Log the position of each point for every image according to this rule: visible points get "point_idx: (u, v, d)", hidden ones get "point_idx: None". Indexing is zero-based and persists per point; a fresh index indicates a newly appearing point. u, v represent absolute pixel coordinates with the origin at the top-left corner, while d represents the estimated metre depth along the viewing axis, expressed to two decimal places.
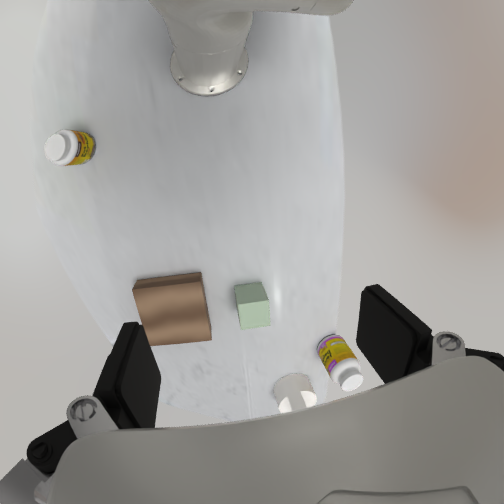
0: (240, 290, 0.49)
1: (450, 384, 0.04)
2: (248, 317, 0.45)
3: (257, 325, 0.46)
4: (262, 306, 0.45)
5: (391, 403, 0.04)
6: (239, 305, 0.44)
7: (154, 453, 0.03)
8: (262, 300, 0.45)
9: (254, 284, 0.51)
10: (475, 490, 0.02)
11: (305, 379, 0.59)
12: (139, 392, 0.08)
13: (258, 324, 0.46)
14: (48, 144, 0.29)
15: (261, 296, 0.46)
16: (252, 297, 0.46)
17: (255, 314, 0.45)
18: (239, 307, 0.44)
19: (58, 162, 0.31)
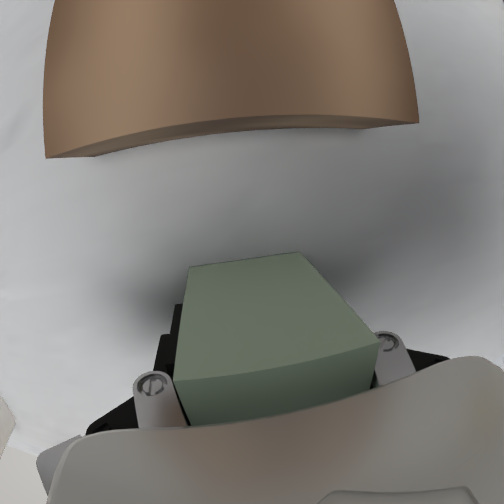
0: None
1: (450, 384, 0.04)
2: (281, 404, 0.06)
3: None
4: None
5: (392, 403, 0.04)
6: (372, 350, 0.06)
7: (154, 453, 0.03)
8: None
9: None
10: (475, 490, 0.02)
11: (9, 434, 0.13)
12: None
13: None
14: None
15: None
16: None
17: None
18: (360, 353, 0.06)
19: None
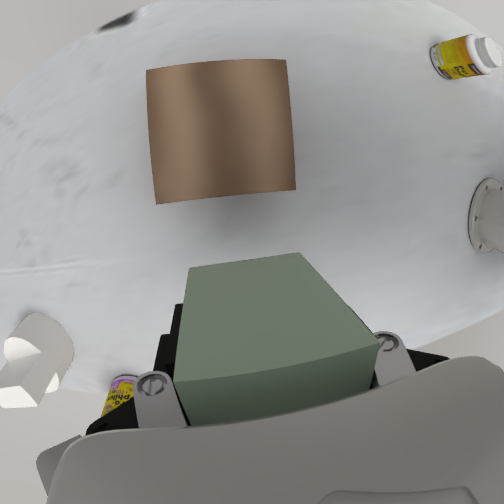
0: None
1: (450, 384, 0.04)
2: (280, 405, 0.06)
3: None
4: None
5: (391, 403, 0.04)
6: (372, 351, 0.06)
7: (154, 453, 0.03)
8: None
9: None
10: (475, 490, 0.02)
11: None
12: None
13: None
14: (494, 46, 0.15)
15: None
16: None
17: None
18: (359, 354, 0.06)
19: (473, 43, 0.16)
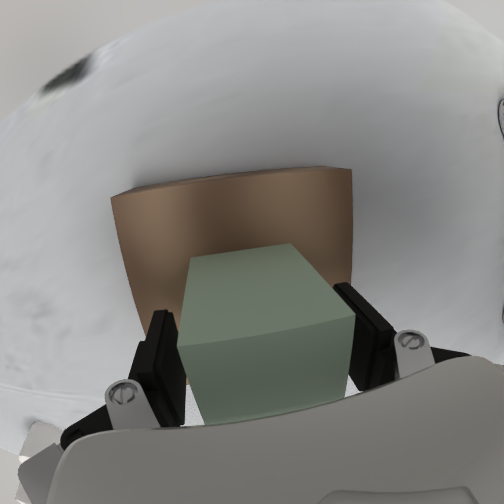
0: None
1: (450, 384, 0.04)
2: (269, 370, 0.08)
3: (212, 409, 0.08)
4: None
5: (391, 403, 0.04)
6: (349, 322, 0.07)
7: (154, 453, 0.03)
8: None
9: None
10: (475, 490, 0.02)
11: None
12: (173, 376, 0.09)
13: (216, 411, 0.08)
14: None
15: None
16: None
17: (280, 394, 0.08)
18: (337, 324, 0.07)
19: None
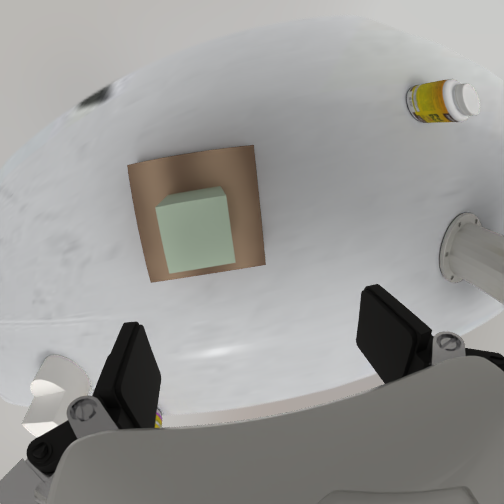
0: None
1: (450, 384, 0.04)
2: (192, 220, 0.19)
3: (168, 244, 0.19)
4: (218, 251, 0.20)
5: (392, 403, 0.04)
6: (223, 198, 0.19)
7: (154, 453, 0.03)
8: None
9: None
10: (475, 490, 0.02)
11: None
12: (139, 392, 0.08)
13: (170, 246, 0.19)
14: (474, 92, 0.20)
15: None
16: None
17: (198, 236, 0.20)
18: (218, 199, 0.19)
19: (450, 91, 0.21)
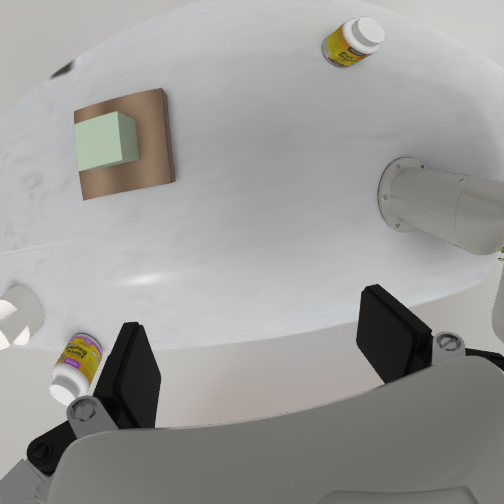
0: (131, 125, 0.27)
1: (450, 384, 0.04)
2: (94, 130, 0.22)
3: (79, 149, 0.22)
4: (110, 152, 0.23)
5: (392, 403, 0.04)
6: (115, 113, 0.22)
7: (154, 453, 0.03)
8: (121, 150, 0.23)
9: (137, 149, 0.29)
10: (475, 490, 0.02)
11: (39, 324, 0.37)
12: (139, 392, 0.08)
13: (80, 150, 0.22)
14: (375, 24, 0.22)
15: (125, 151, 0.25)
16: (124, 137, 0.24)
17: (98, 141, 0.22)
18: (112, 114, 0.22)
19: (349, 27, 0.24)
